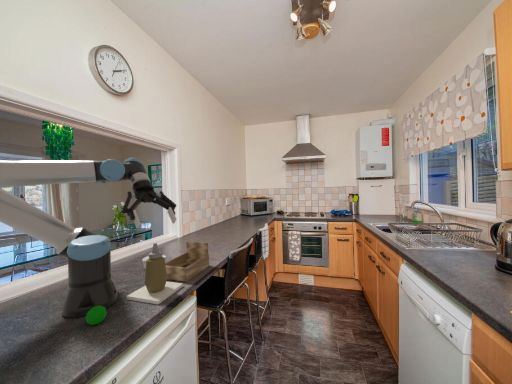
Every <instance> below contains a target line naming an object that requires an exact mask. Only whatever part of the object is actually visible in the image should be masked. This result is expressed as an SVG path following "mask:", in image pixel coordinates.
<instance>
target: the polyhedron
mask: <svg viewBox="0 0 512 384" xmlns="http://www.w3.org/2000/svg"><path fill="white" fill-rule="evenodd" d="M107 313H108V311H107V308H105V307H103V306H95V307H93V308H92V309H90V310H89V311H88V313H87V315H86V316H85V321H86V323H87V324H88V325H90V326H95V325H98V324H101V323H102V321H104V320H105V318H106V316H107Z"/></svg>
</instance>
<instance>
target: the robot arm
mask: <svg viewBox="0 0 512 384" xmlns="http://www.w3.org/2000/svg"><path fill="white" fill-rule="evenodd" d="M122 181H129V183H130V186H131V188H132V191H133V193H132V191H128V192H127V193H126V199H125V201H124V202H125V203H124V205H123V207H122V209H121V214H123V215H124V214H126V215H127V216H128V218H129V220H130V221H133V223H134V225H135V229H140V225H141V221H140V218H139V216H138V214H137V210H136V209H137V208H138V207H139V205H141V204H142V203H144V204H145V203H153V204H155V205H156V204H157V205H158V206H160V207H161V208H164V209H165V210H167V212H166V213H167V214H168V216H169V218H170V220H171V223H172V224H175V223H176V221H177V217H176V211H175V210H176V208H177V204H176V203H175V202H174V201H173V200H171V199H170V198H169V197H168V196H167V195H165V194H164V191H162V190H160V191H159V192H156V191H155V190H154V189H155V188H154V186H153V184H152V181H151V179H150V177H149V175H148V173H147V171H146V168H145V165H144V164H143V162H142V161H141V160H140V159H139V158H137V157H129V158H126V159H125V160H124V161H123V163H122V162H121V161H120V160H117V159H115V158H114V159H113V158H110V159H106V160H0V223H2V224H4V225H7V227H10V228H13V229H15V230H17V231H19V232H21V233H23V234H25V235H28V236H29V237H32V238H34V239H36V240H38V241H40V242H41V243H45V244H46V245H48V246H51V247H53V248H55V252H56V255H58V256H61V257H63V258H64V259H66V260H67V269H68V270H67V273H68V274H67V275H68V276H67V278H68V290H67V292H66V295H65V298H64V300H63V303H62V305H61V316H63V317H65V318H73V319H74V318H81V317H86V315H87V313H88V311H89V310H90V309H92V308H93V307H95V306H103V307H105V309H107V308H109V307H111V306H112V305H113V304H115V303H116V301H117V300H118V291H117V290H118V289H117V288H116V286H115V283H114V281H113V279H112V263H111V262H112V261H111V260H112V258H111V257H112V253H111V248H112V244H111V238H110V237H108V236H106V235H102V234H97V233H94V232H92V231H91V230H89V229H87V228H85V227H74V226H73V225H70V224H68V223H66V222H64V221H63V220H61V219H59V218H57V217H55V216H54V215H51V214H50V213H47V211H44V210H43V209H40V208H38V207H37V206H34V205H33V204H31V203H30V202H27V201H26V200H24V199H22V198H20V197H18V196H16V195H15V194H12V193H10V191H7V190H5V189H4V188H6V187H7V188H8V187H10V188H11V187H25V186H26V187H27V186H40V185H41V186H44V185H59V184H76V183H91V182H92V183H95V184H106V183H115V182H122ZM133 198H135V199H136V200H135V202H133V204H132V205H131V206H130V207H129V205H130V202H131V200H132V199H133Z"/></svg>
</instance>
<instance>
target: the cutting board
mask: <svg viewBox="0 0 512 384" xmlns="http://www.w3.org/2000/svg"><path fill="white" fill-rule="evenodd" d="M183 287H184V283H183V282H173V281H169V280H168V281H166V284H165V287H164V289H163V290H161V291H159V292H153V293H151V292H148V290H147V288H146V286H145V285H144V286H142V287H140V288H138V289H137V290H135V291H133V292H131V293H129V294H128V295H126V300H129V301H134V302H135V301H136V302H139V303H140V302H141V303H147V304H153V305H160V304H161V303H162V302H164V301H165V300H166V299H168V298H169V297H170V296H172V295H173V294H175V293H176V292H177V291H179V290H181V289H182V288H183Z"/></svg>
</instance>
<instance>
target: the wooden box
mask: <svg viewBox="0 0 512 384" xmlns="http://www.w3.org/2000/svg"><path fill="white" fill-rule="evenodd" d="M185 244H186V251H185V253H182V254H180V255H178V256H176V257H174V258H172V259H170V260H168V261H165V265H166V273H167V280H168V281H169V280H170V281H177V282H178V281H179V282H186V283H188V282H189V281H190V280H191V279H192V278H195V277H196V276H197V275H198V274H199V273H201V272H202V271H204V270H205V269H206V268H208V267H210V253H209V243H208V242H199V241H186V243H185ZM187 264H188V265H187ZM185 265H187V266H186V267H184V266H185Z"/></svg>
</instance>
